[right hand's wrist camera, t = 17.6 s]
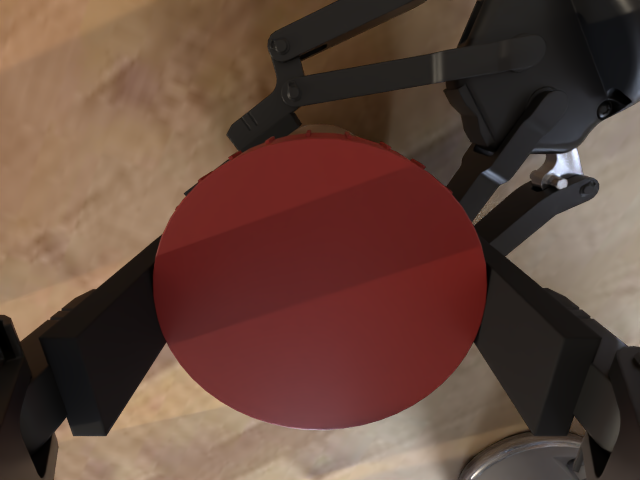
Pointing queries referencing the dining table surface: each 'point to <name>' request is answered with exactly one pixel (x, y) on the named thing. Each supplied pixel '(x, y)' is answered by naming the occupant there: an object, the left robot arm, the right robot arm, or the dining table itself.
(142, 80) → the dining table surface
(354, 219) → the lid
